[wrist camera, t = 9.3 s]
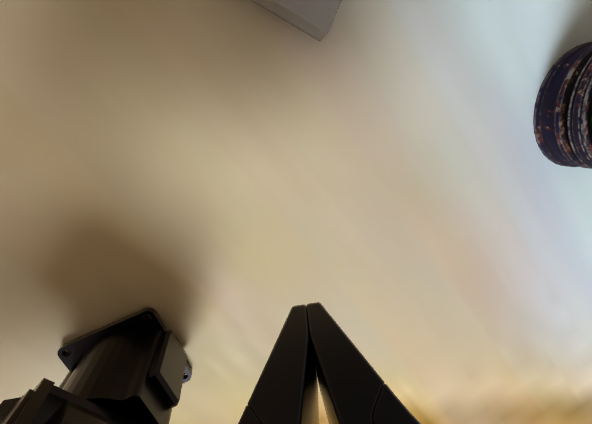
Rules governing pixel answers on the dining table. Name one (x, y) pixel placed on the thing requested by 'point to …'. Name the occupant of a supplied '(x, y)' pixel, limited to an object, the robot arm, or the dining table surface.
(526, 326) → the dining table surface
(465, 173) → the dining table surface
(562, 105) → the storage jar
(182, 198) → the dining table surface
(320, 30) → the fader track
